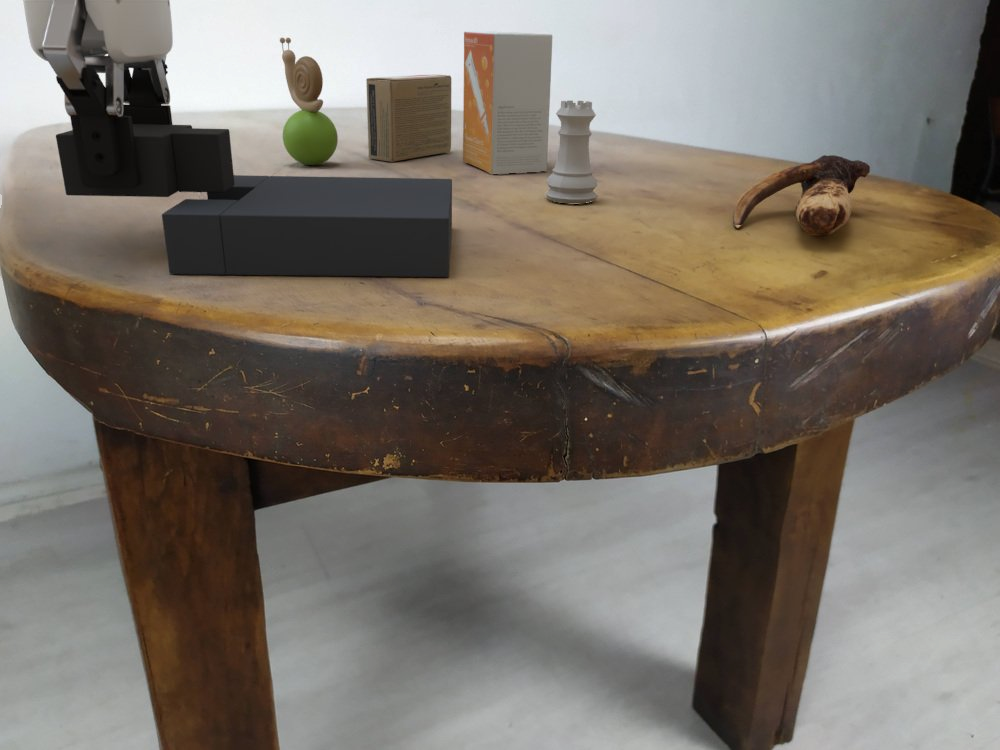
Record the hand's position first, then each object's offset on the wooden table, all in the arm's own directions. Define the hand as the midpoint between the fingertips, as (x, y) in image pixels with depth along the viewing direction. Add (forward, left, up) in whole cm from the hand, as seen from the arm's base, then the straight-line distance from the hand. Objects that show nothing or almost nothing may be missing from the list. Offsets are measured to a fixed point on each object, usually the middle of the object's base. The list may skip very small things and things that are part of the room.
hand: (132, 174), depth 52 cm
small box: (+25, +34, -5) cm, 43 cm away
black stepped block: (+1, 0, -1) cm, 2 cm away
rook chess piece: (+30, +17, -5) cm, 35 cm away
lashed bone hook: (+46, +10, -5) cm, 48 cm away
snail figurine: (+5, +34, -5) cm, 35 cm away
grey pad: (+12, 0, -5) cm, 13 cm away
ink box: (+15, +41, -5) cm, 44 cm away
